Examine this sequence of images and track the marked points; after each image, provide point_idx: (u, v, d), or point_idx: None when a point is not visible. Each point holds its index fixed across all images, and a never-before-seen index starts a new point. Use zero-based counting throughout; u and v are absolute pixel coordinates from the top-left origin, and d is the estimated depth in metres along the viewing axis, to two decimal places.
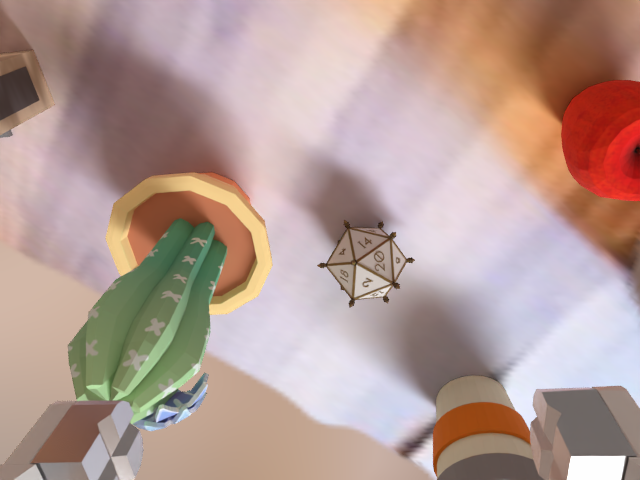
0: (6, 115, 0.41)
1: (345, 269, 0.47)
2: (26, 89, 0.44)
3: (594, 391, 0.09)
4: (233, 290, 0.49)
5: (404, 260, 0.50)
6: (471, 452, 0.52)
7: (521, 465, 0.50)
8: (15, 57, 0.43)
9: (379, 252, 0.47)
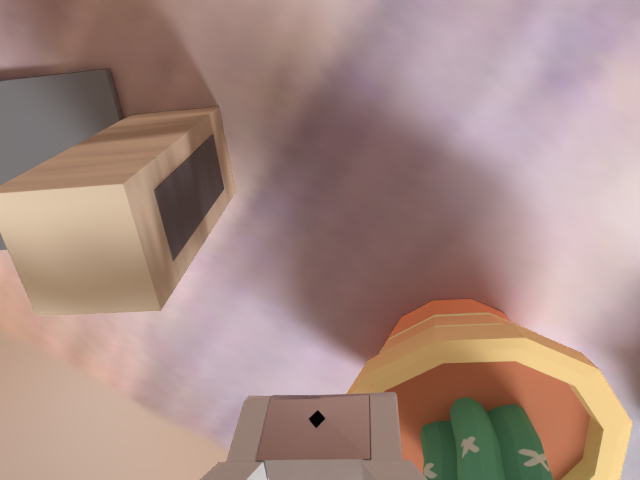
0: (195, 225, 0.23)
1: None
2: (213, 173, 0.25)
3: (365, 397, 0.09)
4: None
5: None
6: None
7: None
8: (204, 120, 0.24)
9: None
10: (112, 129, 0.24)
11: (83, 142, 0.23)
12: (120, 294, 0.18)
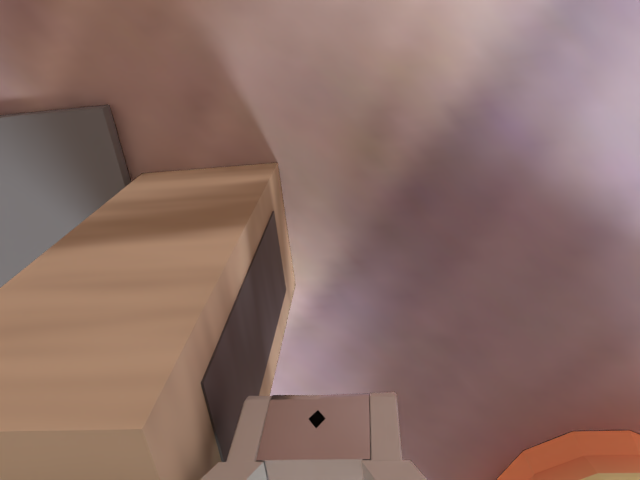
0: (257, 386, 0.13)
1: None
2: (275, 275, 0.16)
3: (365, 397, 0.09)
4: None
5: None
6: None
7: None
8: (263, 194, 0.15)
9: None
10: (113, 208, 0.15)
11: (63, 241, 0.13)
12: None
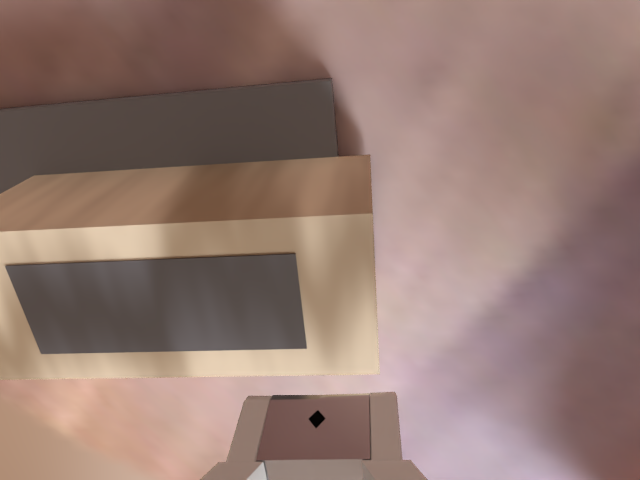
0: (139, 348, 0.14)
1: None
2: (258, 311, 0.14)
3: (366, 397, 0.09)
4: None
5: None
6: None
7: None
8: (258, 222, 0.12)
9: None
10: (264, 165, 0.16)
11: (203, 166, 0.17)
12: None
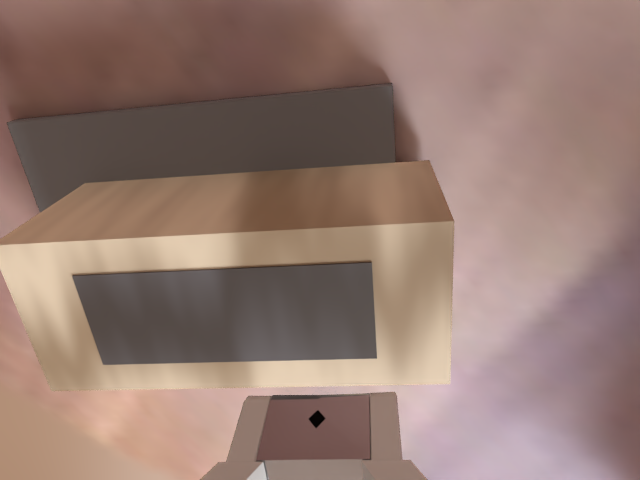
0: (204, 358, 0.14)
1: None
2: (330, 321, 0.13)
3: (365, 397, 0.09)
4: None
5: None
6: None
7: None
8: (335, 230, 0.12)
9: None
10: (323, 172, 0.16)
11: (259, 173, 0.17)
12: None
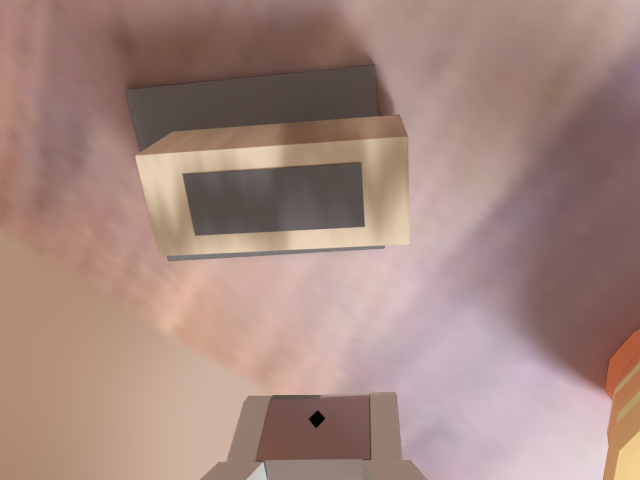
0: (259, 229, 0.23)
1: None
2: (336, 202, 0.22)
3: (365, 397, 0.09)
4: None
5: None
6: None
7: None
8: (340, 143, 0.21)
9: None
10: (331, 121, 0.25)
11: (289, 123, 0.26)
12: None
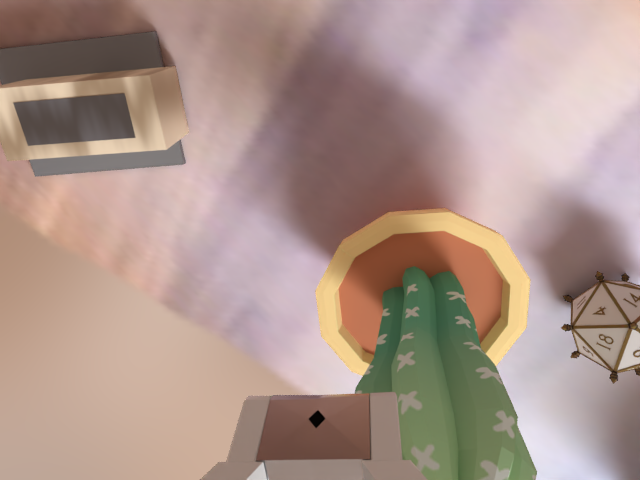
0: (68, 141, 0.35)
1: (609, 334, 0.37)
2: (114, 120, 0.34)
3: (365, 397, 0.09)
4: None
5: None
6: None
7: None
8: (108, 80, 0.33)
9: None
10: (128, 70, 0.37)
11: None
12: None
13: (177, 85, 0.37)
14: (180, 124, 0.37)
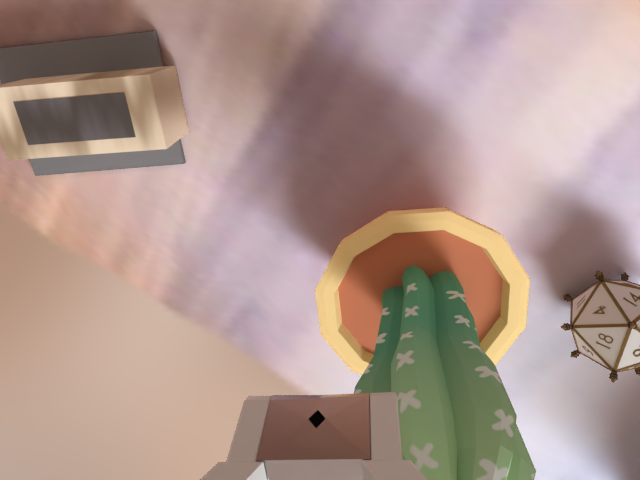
0: (68, 140, 0.35)
1: (609, 333, 0.37)
2: (114, 119, 0.34)
3: (365, 397, 0.09)
4: None
5: None
6: None
7: None
8: (108, 79, 0.33)
9: None
10: (128, 70, 0.37)
11: (102, 72, 0.37)
12: None
13: (177, 85, 0.37)
14: (180, 123, 0.37)
